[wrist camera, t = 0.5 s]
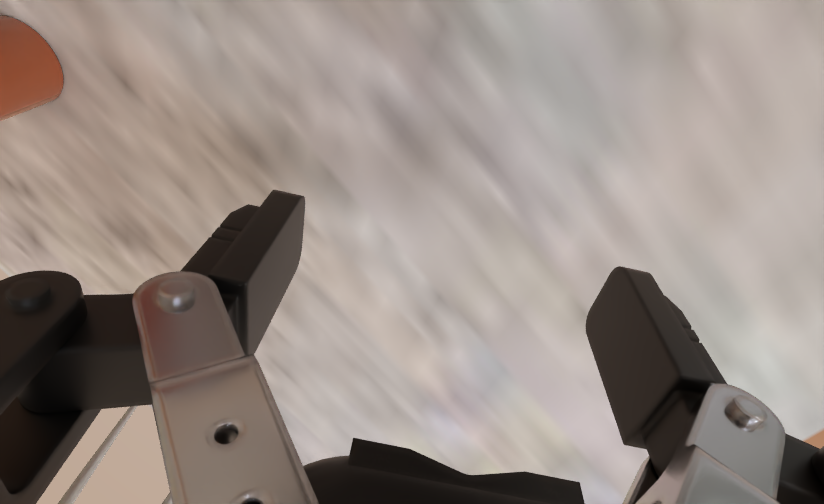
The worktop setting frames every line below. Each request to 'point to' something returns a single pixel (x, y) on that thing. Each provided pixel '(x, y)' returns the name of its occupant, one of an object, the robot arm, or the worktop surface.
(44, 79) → the jar
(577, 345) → the worktop surface
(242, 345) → the robot arm
